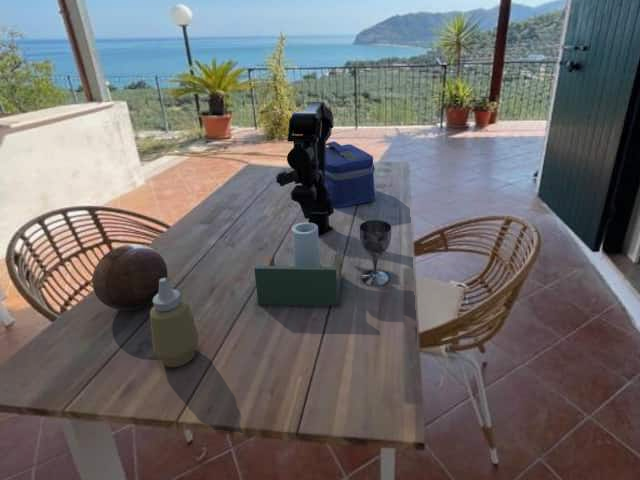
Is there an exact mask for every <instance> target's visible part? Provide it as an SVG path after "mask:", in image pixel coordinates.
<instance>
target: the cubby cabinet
mask: <svg viewBox="0 0 640 480" xmlns="http://www.w3.org/2000/svg"><path fill="white" fill-rule="evenodd" d="M275 256H276V253H275V252H268V253H267V255H266V257H265V259H264V261H263V263H262V265H255V267H254V277H255V279H254V280H255V287H256V294H257V295H256V296H257V304H258V306H259V305H262V306H265V305H267V306H312V307H313V306H315V307H338V303H339V296H340V290H341V289H340V288H341V282H342V281H341V279H342V257H343V254H342V253H335V255H334V259H333V266H320V267H294V265H293V266H292V265H291V266H289V265H286V266H284V265H276V263H275Z"/></svg>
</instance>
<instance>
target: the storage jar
mask: <svg viewBox="0 0 640 480" xmlns="http://www.w3.org/2000/svg"><path fill="white" fill-rule="evenodd" d="M291 239H292V240H291V242H292V253H293V254H292V255H293V266H294V267H321V263H320V244H319V241H320V240H319V235H318V226H317V225H316V224H314V223H309V222H308V221H305V222H304V221H303V222H299V223H296V224H294V225H293V226H292V227H291Z"/></svg>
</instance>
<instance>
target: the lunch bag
mask: <svg viewBox="0 0 640 480" xmlns="http://www.w3.org/2000/svg"><path fill="white" fill-rule="evenodd" d="M374 173H375V165H374V156H373V155H372V154H370V153H368V152H366V151H364V150H363V149H361V148H359V147H357V146H355V145H353V144H351V143H349V144H348V143H347V144H340V143H338V142H337V141H335V140H334V141H329V142H326V163H325V187H326V189H327V191H328V192H329V198H331V202H332V203H333V208H338V207H348V206H353V205H359V204H364V203H369V202H372V201H374V200H375V196H376V193H375V175H374Z"/></svg>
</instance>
